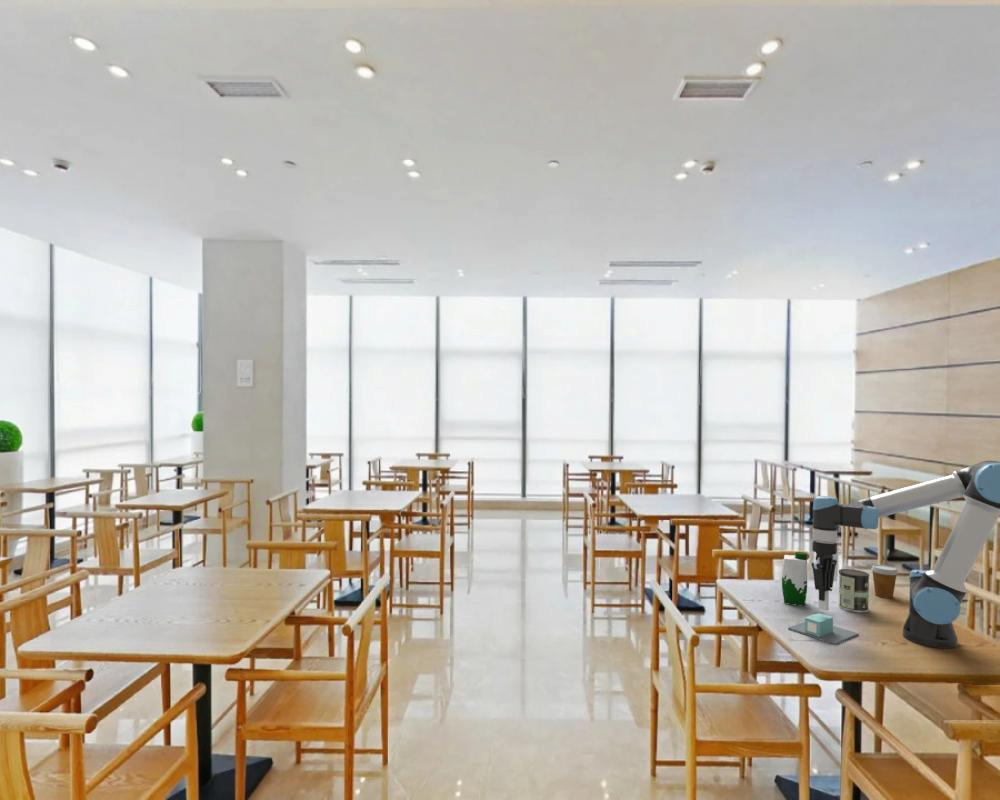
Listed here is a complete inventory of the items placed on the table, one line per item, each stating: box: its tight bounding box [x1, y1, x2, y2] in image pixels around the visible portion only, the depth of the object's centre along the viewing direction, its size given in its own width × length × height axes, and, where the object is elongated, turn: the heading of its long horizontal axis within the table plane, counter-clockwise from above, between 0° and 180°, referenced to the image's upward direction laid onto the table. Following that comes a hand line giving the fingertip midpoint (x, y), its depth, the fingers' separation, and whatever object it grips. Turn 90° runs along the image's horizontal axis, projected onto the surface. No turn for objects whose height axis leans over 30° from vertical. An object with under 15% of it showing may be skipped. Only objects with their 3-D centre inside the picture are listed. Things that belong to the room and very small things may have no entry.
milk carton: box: [781, 551, 808, 607], centre depth 239 cm, size 9×9×20 cm
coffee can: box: [838, 568, 870, 614], centre depth 234 cm, size 10×10×14 cm
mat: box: [787, 621, 859, 645], centre depth 207 cm, size 16×16×1 cm
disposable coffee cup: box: [870, 564, 899, 599], centre depth 251 cm, size 10×10×12 cm
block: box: [804, 612, 834, 637], centre depth 205 cm, size 5×5×9 cm
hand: (823, 609), depth 207 cm, fingers closed
